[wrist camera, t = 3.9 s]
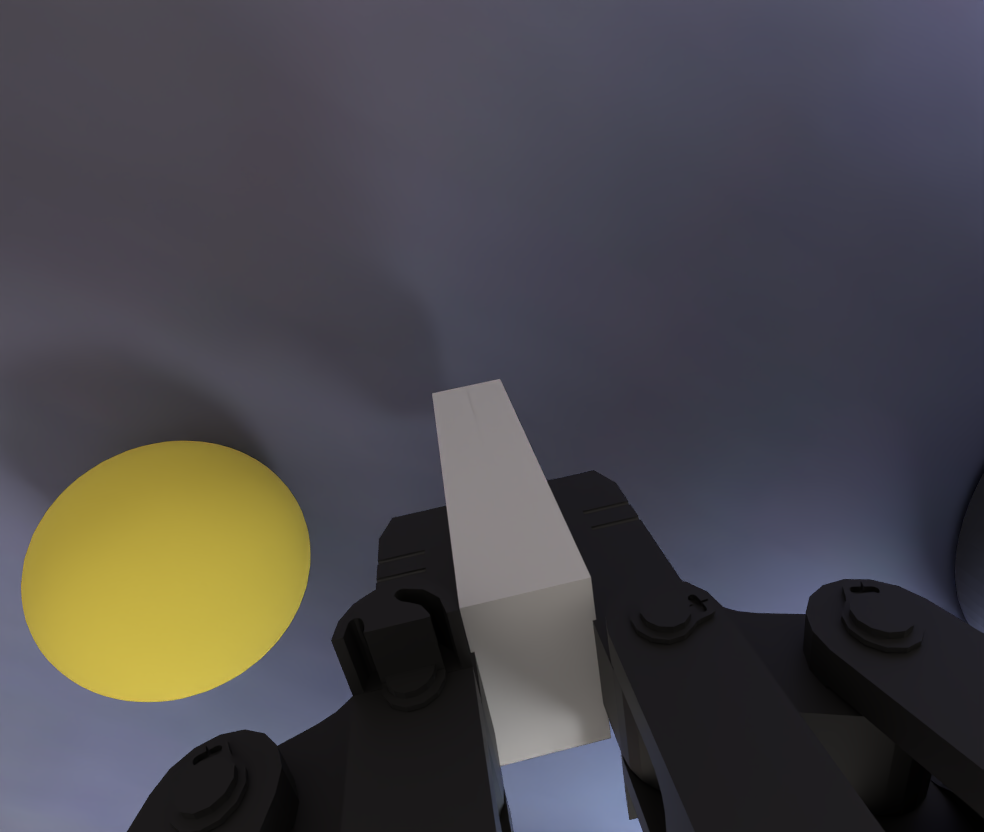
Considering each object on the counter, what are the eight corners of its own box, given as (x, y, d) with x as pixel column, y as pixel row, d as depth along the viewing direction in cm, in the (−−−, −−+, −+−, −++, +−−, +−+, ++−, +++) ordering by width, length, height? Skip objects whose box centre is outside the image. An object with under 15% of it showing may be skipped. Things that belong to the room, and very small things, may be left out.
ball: (285, 381, 14) (211, 491, 9) (352, 557, 16) (322, 725, 11) (67, 434, 14) (-132, 575, 9) (164, 605, 16) (48, 796, 11)
